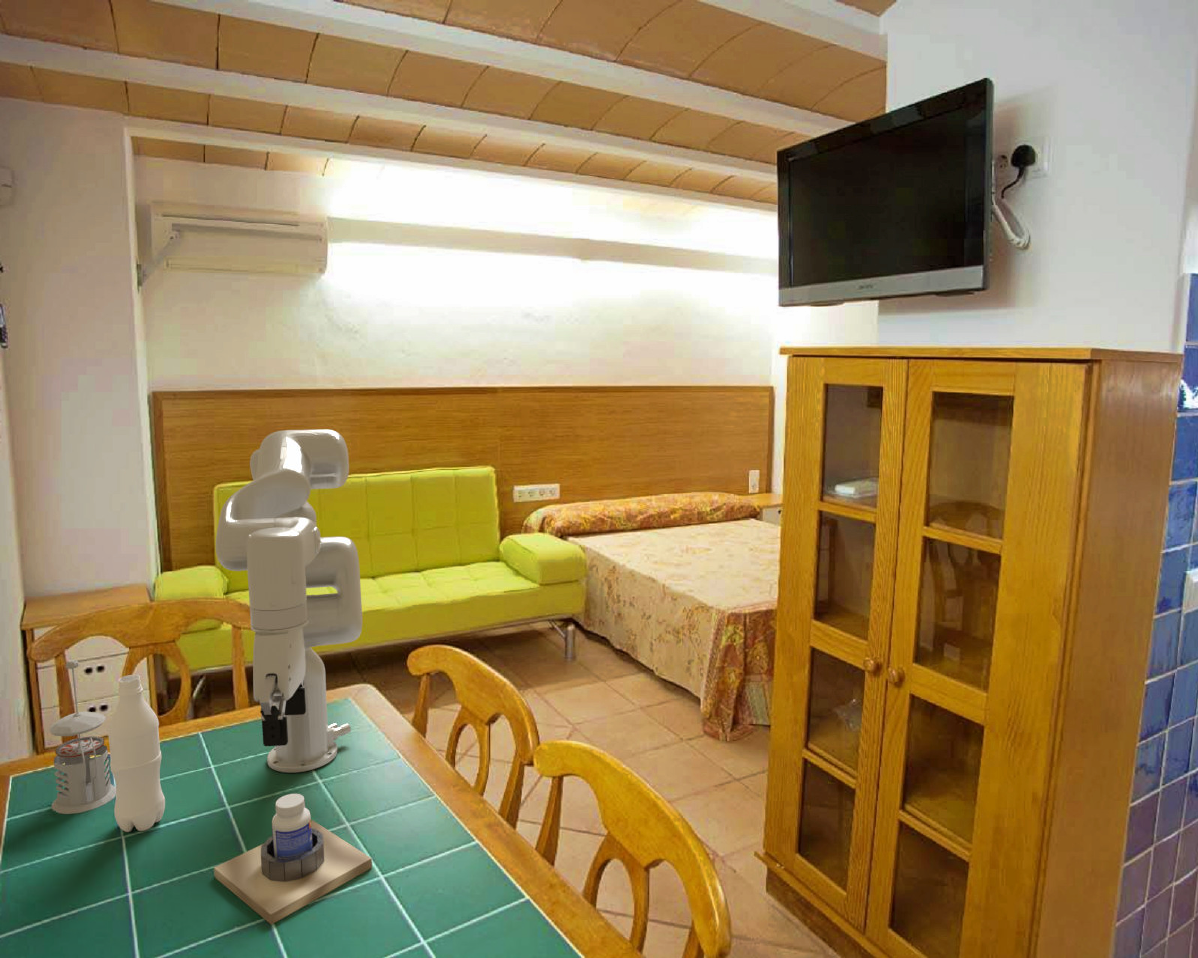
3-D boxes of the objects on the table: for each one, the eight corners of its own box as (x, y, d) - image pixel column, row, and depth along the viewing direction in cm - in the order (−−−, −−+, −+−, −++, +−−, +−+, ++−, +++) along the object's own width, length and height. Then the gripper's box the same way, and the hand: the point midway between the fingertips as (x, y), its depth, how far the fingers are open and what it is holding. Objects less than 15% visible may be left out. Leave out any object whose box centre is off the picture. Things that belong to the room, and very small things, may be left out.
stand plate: (312, 828, 130) (312, 820, 130) (371, 867, 120) (371, 858, 120) (214, 876, 118) (213, 867, 118) (271, 924, 108) (270, 914, 108)
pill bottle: (319, 860, 120) (316, 799, 118) (284, 877, 116) (281, 814, 114) (302, 845, 123) (299, 786, 122) (267, 861, 119) (264, 800, 118)
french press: (109, 777, 146) (97, 645, 143) (127, 802, 138) (115, 663, 134) (45, 797, 139) (31, 660, 136) (60, 825, 131) (45, 679, 128)
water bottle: (144, 838, 127) (131, 688, 124) (105, 833, 129) (91, 685, 125) (176, 814, 134) (165, 671, 131) (139, 809, 136) (127, 668, 132)
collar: (304, 838, 125) (303, 820, 125) (335, 860, 120) (334, 841, 119) (250, 865, 118) (249, 846, 118) (281, 889, 113) (280, 869, 113)
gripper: (270, 597, 122) (276, 704, 125) (230, 637, 105) (238, 759, 108) (320, 596, 123) (326, 702, 125) (289, 635, 106) (296, 756, 108)
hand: (285, 728), depth 116 cm, fingers open, 9 cm apart
